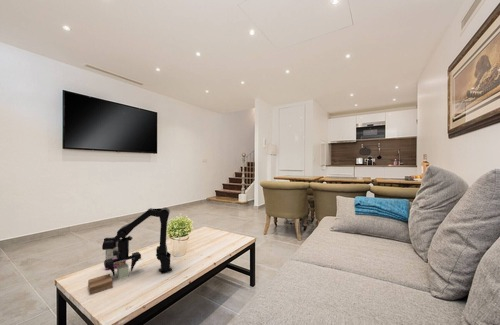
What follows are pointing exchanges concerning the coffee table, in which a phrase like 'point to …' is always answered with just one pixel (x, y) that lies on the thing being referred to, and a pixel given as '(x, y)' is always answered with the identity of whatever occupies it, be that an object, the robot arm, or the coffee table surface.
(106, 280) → the walnut block
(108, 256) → the candy bar box
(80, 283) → the coffee table surface
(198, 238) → the coffee table surface
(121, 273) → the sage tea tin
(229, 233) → the coffee table surface
